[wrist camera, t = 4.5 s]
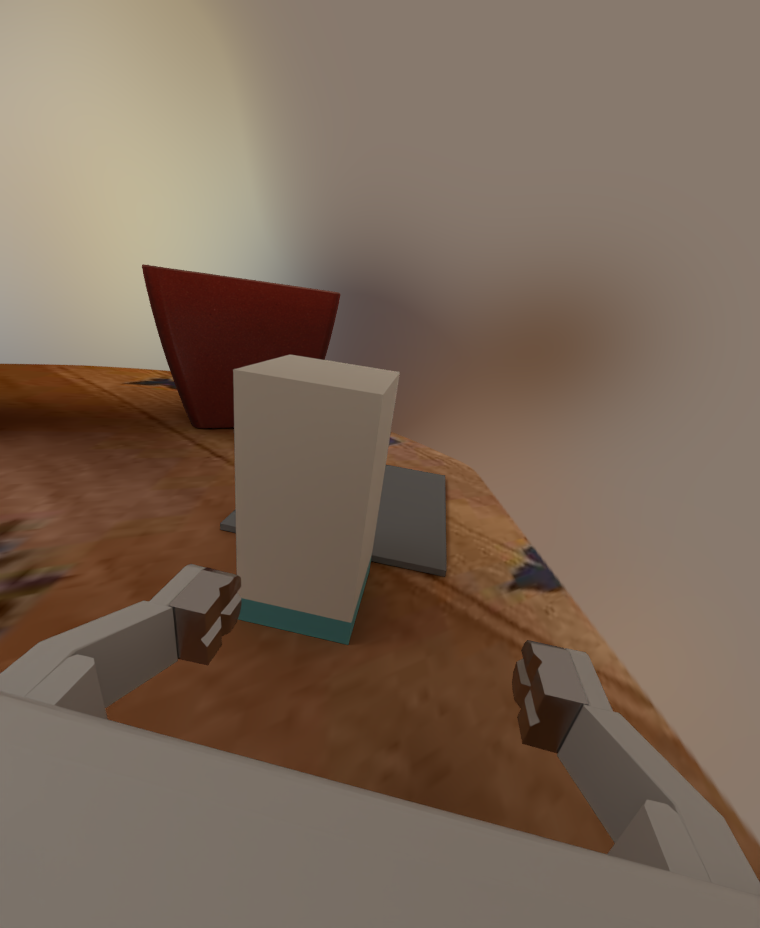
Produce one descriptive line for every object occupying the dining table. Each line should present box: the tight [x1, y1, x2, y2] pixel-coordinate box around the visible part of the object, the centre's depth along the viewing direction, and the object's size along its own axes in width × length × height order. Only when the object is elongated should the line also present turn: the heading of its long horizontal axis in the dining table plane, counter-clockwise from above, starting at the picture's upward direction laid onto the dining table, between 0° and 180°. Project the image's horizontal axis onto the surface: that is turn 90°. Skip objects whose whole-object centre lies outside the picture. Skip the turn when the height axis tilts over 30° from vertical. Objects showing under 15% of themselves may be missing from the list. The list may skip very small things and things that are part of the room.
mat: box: [220, 465, 446, 577], centre depth 33 cm, size 16×16×1 cm
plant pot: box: [142, 265, 340, 428], centre depth 48 cm, size 19×19×17 cm
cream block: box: [233, 355, 400, 645], centre depth 20 cm, size 6×6×13 cm
